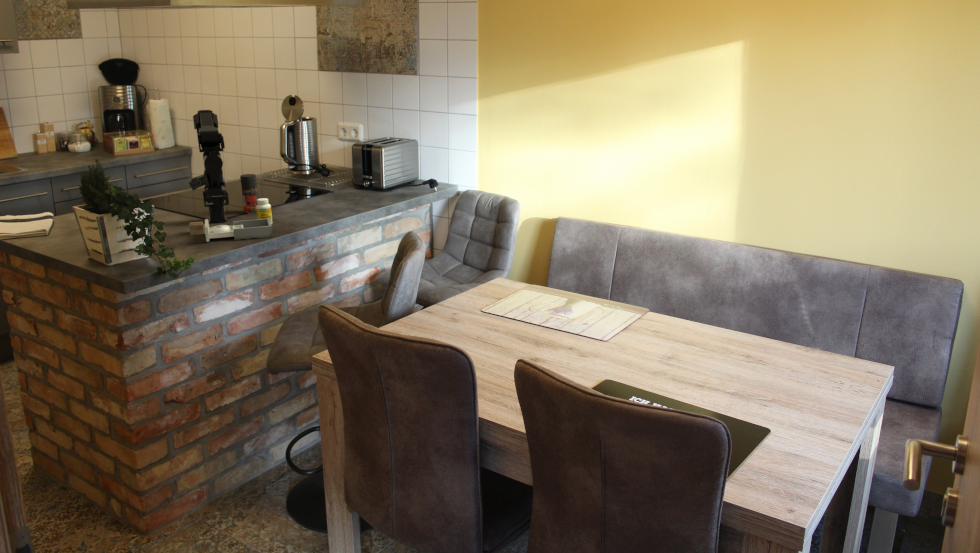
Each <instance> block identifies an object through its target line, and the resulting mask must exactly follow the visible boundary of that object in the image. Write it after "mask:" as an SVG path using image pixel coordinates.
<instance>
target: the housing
mask: <svg viewBox="0 0 980 553" xmlns="http://www.w3.org/2000/svg"><path fill="white" fill-rule="evenodd" d="M233 225H243V228H237V229H233V231H234V241H242V240H241V239H246V240H252V239H251V238H258V239H268V238H274V234H273V223H272V224H271V221H270V218H268V219H258V218H257V219H256V218H255V219H246V220H245V219H244V220H233V221H232V226H233Z"/></svg>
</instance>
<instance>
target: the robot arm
mask: <svg viewBox="0 0 980 553" xmlns="http://www.w3.org/2000/svg"><path fill="white" fill-rule="evenodd" d="M192 120H193V130H196V134H197V143H198V150H199V153H202V159H203V167H204V170H203V174H200V175H197V176H195V177H193V178H190V179H189V180H188V181H187V182H188V183H187V184H189V187H190V188H191V190H192V191H196V190H197V189H199V188H201V187H203V189H204V190H202V198H203V206H204V208H206V207H207V208H208V215H209V218H208V222H209V224H211V223H212V224H214V223H225V222H228V219H227V216H226V211H225V206H228V205H230V199H229V197H230V196H229V192H228V191H227V190H226V182H225V181H226V180H225V179H224V173H223V170H224V169H223V166H224V162H223V160H222V157H221V156H222V154H221V152H224V150H225V148H226V147H225V146H226V145H225V141H224V140H225V139H224V135H223V134H222V133H221V132H220V131H219V121H218V114H216V113H214V112H213V110H211V109H199V110H197V113H195V114H194V115H193V116H192Z"/></svg>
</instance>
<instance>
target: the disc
mask: <svg viewBox="0 0 980 553" xmlns="http://www.w3.org/2000/svg"><path fill="white" fill-rule="evenodd" d="M229 226H230V225H227V224H217V225H213V226H211V229H212V233H220V232H230V228H229Z"/></svg>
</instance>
